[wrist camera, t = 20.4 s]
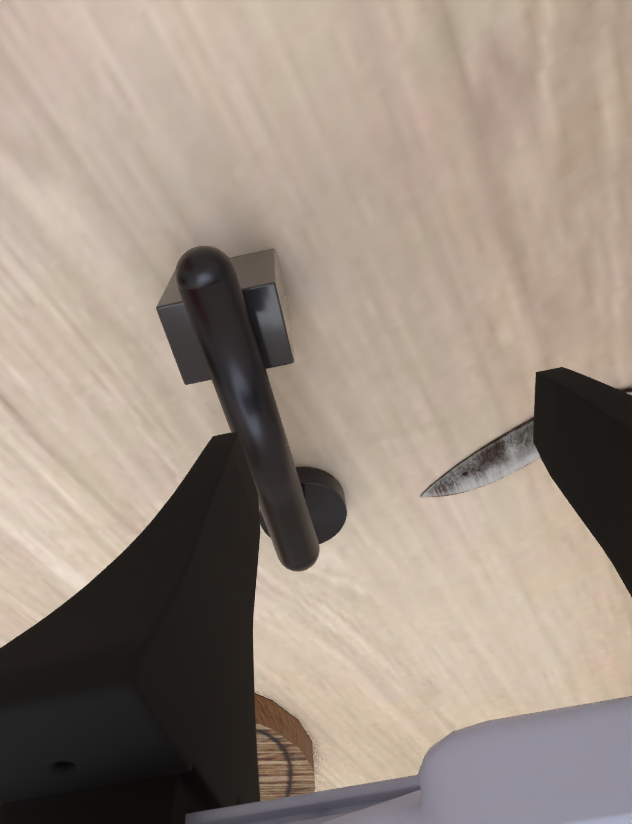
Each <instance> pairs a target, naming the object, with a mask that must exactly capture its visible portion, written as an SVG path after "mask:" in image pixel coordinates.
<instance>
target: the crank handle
mask: <svg viewBox="0 0 632 824" xmlns="http://www.w3.org/2000/svg"><path fill="white" fill-rule="evenodd" d="M175 281H176V284H177V288H178V290H179V293H180V296H181V298H182V301H183V304H184V306H185V309H186V312H187V314H188V317H189V320H190V323H191V325H192V328H193V331H194V333H195V336H196V339H197V341H198V344H199V347H200V349H201V352H202V355H203V357H204V360H205V363H206V365H207V368H208V371H209V373H210V376H211V379H212V381H213V384H214V387H215V390H216V392H217V395H218V398H219V400H220V403H221V406H222V408H223V411H224V414H225V416H226V419H227V422H228V424H229V427H230V430H231V432H238V435H239V438H240V441H241V444H242V447H243V450H244V453H245V456H246V459H247V462H248V465H249V468H250V471H251V474H252V477H253V480H254V483H255V486H256V489H257V492H258V497H259V514H260V524H261V526H262V528H263V530H264V531H265V533H266V534H267V535H268V536H269V537H270V538H271V540H272V542H273V545H274V548H275V550H276V553H277V556H278V558H279V560H280V562H281V563H282V565H283V566H285V567H286V568H287V569H289V570H292V571H304V570H307V569H309V568H310V567H311V566H312V565H314V563H315V562H316V560H317V558H318V556H319V544H321V543H324V542H326V541H328V540H329V539H331V538H332V537H334V536H335V535H336V534H337V533H338V532H339V531H340V530H341V528H342V527H343V525H344V523H345V520H346V516H347V510H346V504H345V498H344V492H343V489H342V487H341V485H340V484H339V482H338V481H337V480H336V479H335V478H334V477H333V476H331V475H330V474H328V473H326V472H324V471H322V470H319V469H315V468H307V467H301V468H296V467H295V464H294V461H293V457H292V454H291V451H290V448H289V444H288V441H287V438H286V434H285V431H284V428H283V425H282V421H281V418H280V415H279V411H278V408H277V405H276V402H275V398H274V395H273V392H272V389H271V385H270V382H269V379H268V375H267V372H266V369H265V366H264V362H263V359H262V356H261V352H260V349H259V346H258V343H257V339H256V336H255V333H254V330H253V326H252V323H251V320H250V316H249V313H248V310H247V307H246V303H245V300H244V297H243V293H242V290H241V287H240V284H239V280H238V277H237V274H236V271H235V268H234V265H233V263H232V262H231V260H230V259H229V257H228V256H227V255H226V254H225V253H223V252H222V251H220V250H219V249H216V248H214V247H210V246H198V247H194V248H192V249H190V250H188V251H187V252H186V253H185V254H184V255H183V256H182V257H181V258H180V260H179V261H178V264H177V266H176V271H175Z"/></svg>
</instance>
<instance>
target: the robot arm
mask: <svg viewBox="0 0 632 824" xmlns="http://www.w3.org/2000/svg"><path fill="white" fill-rule="evenodd" d="M533 443H534V445H535V447H536V449H537V451H538V453H539V455H540V457H541V459H542V461H543V463H544V465H545V467H546V469H547V470H548V472H549V474H550V476H551V477H552V479H553V480H554V482H555V483H556V485H557V486H558V487H559V489H560V490H561V492H562V493H563V494H564V496H565V497H566V499H567V500H568V501H569V503H570V504H571V506H572V507H573V508H574V510H575V511H576V512H577V514H578V515H579V517H580V518H581V519H582V521H583V522H584V523H585V525H586V526H587V528H588V529H589V530H590V532H591V533H592V535H593V536H594V537H595V539H596V540H597V541H598V543H599V544H600V546H601V547H602V548H603V550H604V551H605V553H606V554H607V556H608V557H609V559H610V561H611V562H612V564H613V565H614V567H615V569H616V570H617V572H618V574H619V576H620V577H621V579H622V581H623V583H624V584H625V586H626V588H627V590H628V591H629V593H630V595H631V597H632V395H630V394H627V393H625V392H623V391H620V390H618V389H615V388H613V387H611V386H608V385H606V384H604V383H601V382H599V381H597V380H594V379H592V378H590V377H587V376H585V375H582V374H580V373H577V372H575V371H572V370H569V369H566V368H563V367H560V368H555V369H550V370H545V371H540V372H536V383H535V406H534V428H533ZM259 540H260V514H259V497H258V492H257V489H256V486H255V483H254V480H253V477H252V474H251V471H250V468H249V465H248V462H247V459H246V456H245V453H244V450H243V447H242V444H241V441H240V438H239V435H238V432H232V433H227V434H222V435H217V436H213V437H212V438H211V440H210V441H209V443H208V444H207V446H206V447H205V448H204V450H203V451H202V453H201V454H200V456H199V457H198V459H197V460H196V462H195V463H194V465H193V466H192V468H191V469H190V471H189V472H188V474H187V475H186V477H185V478H184V480H183V481H182V482H181V484H180V485H179V487H178V488H177V489H176V491H175V492H174V494H173V495H172V496H171V497H170V499H169V500H168V501H167V503H166V504H165V505H164V506H163V508H162V509H161V510H160V511H159V513H158V514H157V515H156V517H155V518H154V519H153V520H152V521H151V523H150V524H149V525H148V526H147V527H146V528H145V529H144V530H143V532H142V533H141V534H140V535H139V536H138V537H137V538H136V539H135V540H134V541H133V542H132V543H131V544H130V545H129V546H128V547H127V548H126V550H125V551H123V552H122V553H121V554H120V555H119V556H118V557H117V558H116V559H115V560H114V561H113V562H112V563H111V564H110V565H108V566H107V567H106V568H105V569H104V570H103V571H102V572H101V573H100V574H99V575H97V576H96V577H95V578H94V579H93V580H92V581H91V582H90V583H89V584H87V585H86V586H85V587H84V588H83V589H81V590H80V591H79V592H78V593H76V594H75V595H74V596H73V597H71V598H70V599H69V600H68V601H66V602H65V603H64V604H63V605H61V606H60V607H59V608H57V609H56V610H55V611H53V612H52V613H51V614H49V615H48V616H47V617H45V618H44V619H42V620H41V621H40V622H38V623H37V624H36V625H34V626H33V627H31V628H30V629H28V630H27V631H25V632H24V633H22V634H21V635H19V636H18V637H16V638H15V639H13V640H12V641H10V642H9V643H7V644H6V645H4V646H3V647H1V648H0V824H632V696H630V697H624V698H618V699H612V700H606V701H600V702H595V703H589V704H583V705H577V706H571V707H565V708H559V709H554V710H548V711H542V712H536V713H530V714H524V715H519V716H513V717H507V718H501V719H495V720H489V721H485V722H482V723H479V724H475V725H472V726H469V727H466V728H463V729H459V730H456V731H453V732H452V733H450V734H449V735H447V736H446V737H444V738H443V739H442V740H440V741H439V742H437V743H436V744H435V745H433V746H432V747H430V748H429V750H428V751H427V753H426V754H425V757H424V759H423V762H422V765H421V767H420V770H419V773H418V775H415V776H409V777H403V778H397V779H391V780H385V781H379V782H373V783H367V784H361V785H355V786H349V787H343V788H337V789H331V790H325V791H319V792H313V793H307V794H301V795H295V796H289V797H284V798H278V799H272V800H266V801H260V787H259V773H258V756H257V737H256V718H255V693H254V663H253V613H254V601H255V589H256V577H257V565H258V553H259Z"/></svg>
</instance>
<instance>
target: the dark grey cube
mask: <svg viewBox="0 0 632 824" xmlns="http://www.w3.org/2000/svg"><path fill="white" fill-rule="evenodd" d="M229 259H230V260H231V262H232V263H233V265H234V268H235V271H236V274H237V277H238V280H239V284H240V287H241V290H242V293H243V297H244V300H245V303H246V307H247V310H248V313H249V316H250V320H251V323H252V326H253V330H254V333H255V336H256V339H257V343H258V346H259V349H260V352H261V356H262V359H263V362H264V366H265V369H266V368H271V367H276V366H281V365H286V364H291V363H294V353H293V340H292V327H291V317H290V312H289V308H288V304H287V299H286V295H285V291H284V286H283V282H282V278H281V273H280V269H279V265H278V260H277V256H276V252H275V249H270V250H265V251H260V252H256V253H251V254H246V255H242V256H237V257H232V258H229ZM175 271H176V270H175ZM175 271H174V273H173V275H172V277H171V279H170V281H169V283H168V285H167V287H166V289H165V291H164V293H163V295H162V297H161V299H160V301H159V303H158V305H157V307H156V310H157V312H158V315H159V318H160V320H161V323H162V326H163V328H164V331H165V334H166V336H167V339H168V342H169V344H170V347H171V350H172V352H173V355H174V358H175V360H176V363H177V366H178V368H179V371H180V373H181V376H182V379H183V381H184V384H185V385H188V384H193V383H197V382H202V381H207V380H212V379H211V376H210V373H209V371H208V368H207V365H206V363H205V360H204V357H203V355H202V352H201V349H200V347H199V344H198V341H197V339H196V336H195V333H194V331H193V328H192V325H191V323H190V320H189V317H188V314H187V312H186V309H185V306H184V304H183V301H182V298H181V296H180V293H179V290H178V288H177V284H176V281H175Z"/></svg>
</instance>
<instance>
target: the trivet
mask: <svg viewBox="0 0 632 824" xmlns="http://www.w3.org/2000/svg"><path fill="white" fill-rule="evenodd" d="M255 718H256V737H257V756H258V773H259V787H260V801H266V800H272V799H278V798H284V797H289V796H295V795H301V794H307V793H313V792H314V790H315V782H314V765H313V752H312V741H311V740H310V738H309V737H308V735H307V733H306V732H305V730H304V729H303V727H302V726H301V724H300V722H299V721H298V720H297V719H295V718H294V717H293V716H291V715H290V714H289V713H288V712H286V711H285V710H284V709H282V708H281V707H280V706H278V705H277V704H276V703H274V702H273V701H270V700H268V699H266V698H263V697H261V696H259V695H256V694H255Z"/></svg>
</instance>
